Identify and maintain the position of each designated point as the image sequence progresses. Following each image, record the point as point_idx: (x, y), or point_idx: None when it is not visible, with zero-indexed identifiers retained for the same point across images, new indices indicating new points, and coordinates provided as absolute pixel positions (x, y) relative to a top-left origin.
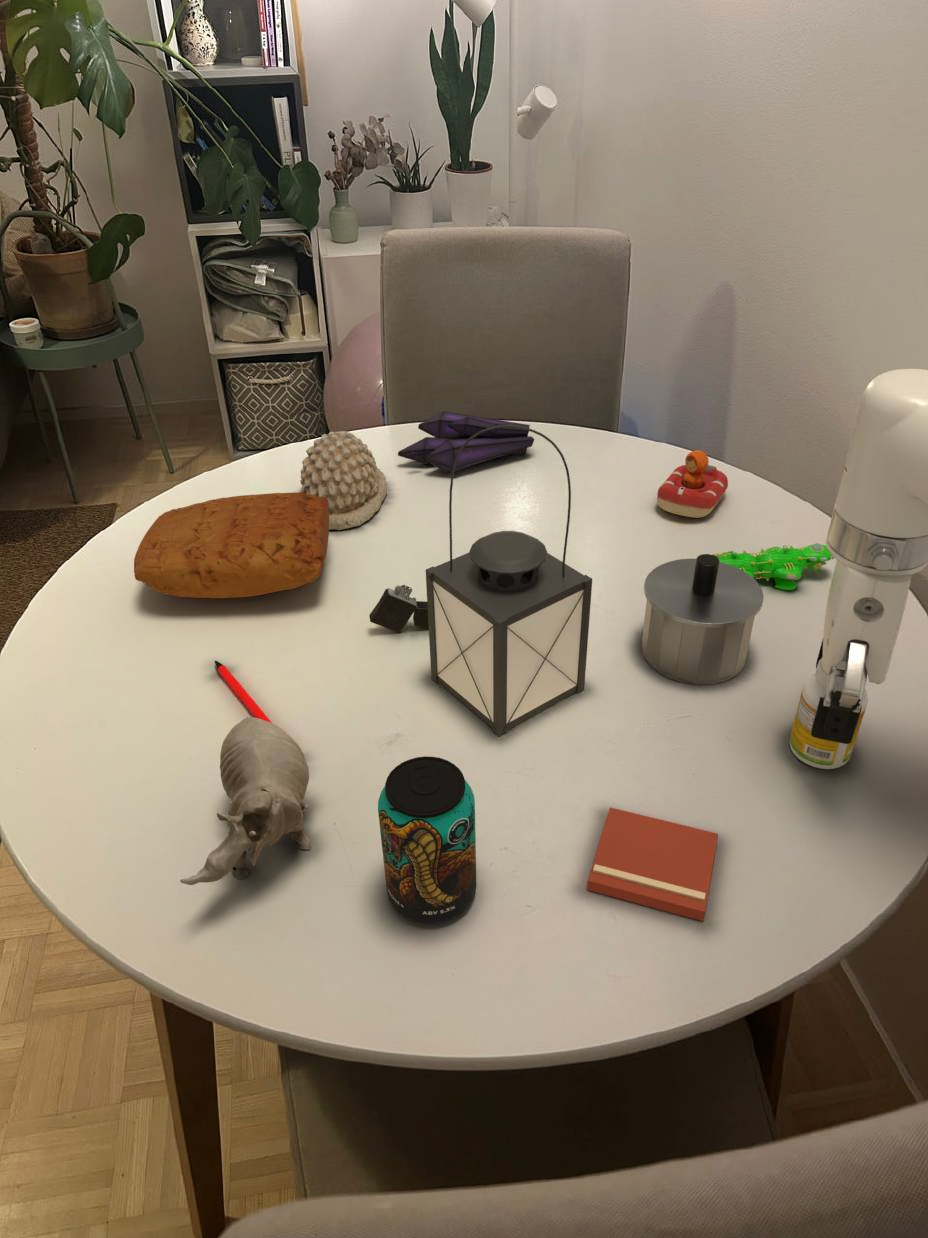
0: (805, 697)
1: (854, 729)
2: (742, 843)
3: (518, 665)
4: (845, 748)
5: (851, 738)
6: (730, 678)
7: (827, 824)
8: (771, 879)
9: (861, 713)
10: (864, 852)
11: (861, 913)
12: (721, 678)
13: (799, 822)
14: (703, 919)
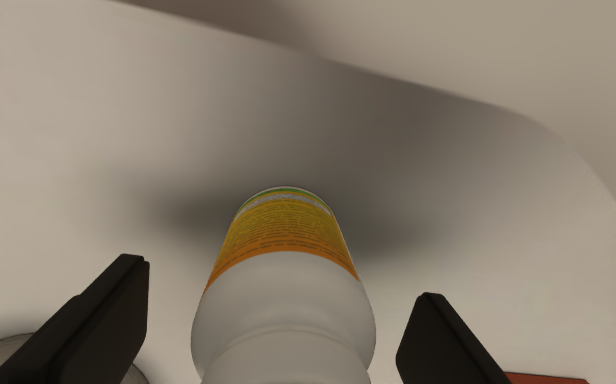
0: None
1: (467, 328)
2: None
3: None
4: (340, 231)
5: (448, 304)
6: None
7: (452, 240)
8: (539, 315)
9: (348, 270)
10: (509, 196)
11: (609, 218)
12: (133, 378)
13: (447, 277)
14: (587, 382)
